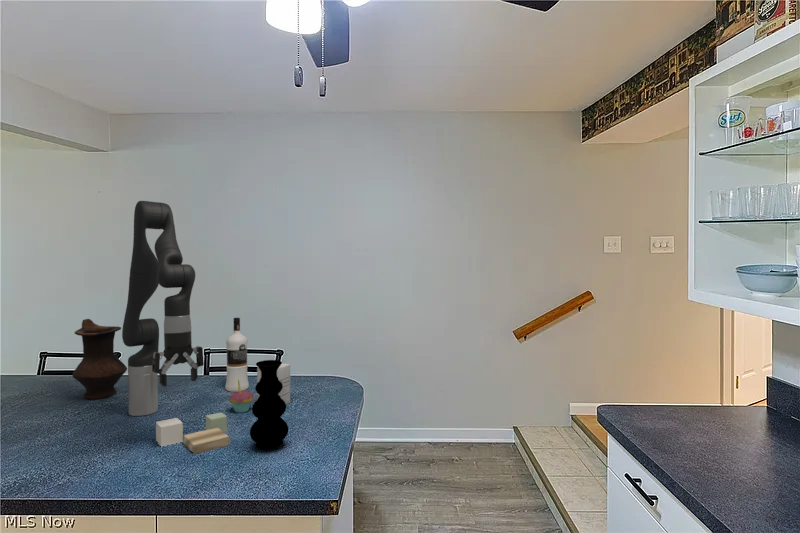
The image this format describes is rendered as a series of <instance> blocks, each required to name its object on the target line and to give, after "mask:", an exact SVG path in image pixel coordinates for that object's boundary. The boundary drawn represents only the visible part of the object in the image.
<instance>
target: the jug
mask: <svg viewBox="0 0 800 533" xmlns="http://www.w3.org/2000/svg"><path fill="white" fill-rule="evenodd" d="M121 330H122V327H121V326H109V325H107V326H106V325H99V324H96V323H95V322H93V320H92V319H90V318H86V319H82V321H81V328H79V329H77V330H75V331H74V335H76V336H80V337H81V340H82V348H83V349H82V352H83V353H82V354H83V357H82V359H81V361H80V362H79V364H78V365H77V367H76V368H75V369H74V371H73V373H72V378H73V379H74V380H76V381H77V382H79V384H81V385H82V386H83V387H84V388H85V392H84V394H83V396H82V397H83V399H84V400H91V399H92V400H100V399H104V398H108V397H111V396H114V395H115V394H116V393H117V389H115V388H116V387H115V386H116V384H117V383H118V382H119V380H120V379H122V377H123V375H124V374H125V373H126V372H128V366H126V365H125V364H124V363H123V361H122V360H120V359H119V358H118V356H116V355H115V352H114V347H115V345H114V343H115V342H114V340H115V336H116V332H119V331H121Z"/></svg>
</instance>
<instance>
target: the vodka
mask: <svg viewBox="0 0 800 533" xmlns="http://www.w3.org/2000/svg"><path fill="white" fill-rule="evenodd" d="M225 344H226V380H225V386H224V387H225V388H224V389H225V390H226V391H227V392H229V393H235V392H237V391H239V389H238V379H239V381H240V390H245V391H247V390H248V388H250V384H249V383H250V382H249V377H248V338H247V336H245V335H243V334H242V333H241V317H233V334H231V335H230V336H228V337H227V338H226V342H225Z"/></svg>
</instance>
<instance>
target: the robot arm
mask: <svg viewBox="0 0 800 533" xmlns="http://www.w3.org/2000/svg"><path fill="white" fill-rule="evenodd" d="M133 214H134V215H133V240H132V241H133V242H132V253H131V262H130V268H129V277H128V278H129V279H128V293H127V295H128V296H127V302H126V303H127V304H126V308H125V314H124V317H123V318H124V319H123V322H122V323H123V324H122V328H121V330H122V332H121V337H122V343H123V344H124V345H125V346H126V347H129V348H132V347H139V346H142V348H141V349H140V350H138V351H137V352H136V353H134V354H131V355H130V356H129V357H128V359H127V374H128V375H127V376H128V377H127V382H128V383H127V386H128V387H127V388H128V389H127V390H128V391H127V392H128V399H127V400H128V415H129V416H133V417H134V416H135V417H141V416H147V415H151V414H155V413H157V412H158V410H159V409H158V408H159V406H158V405H159V404H158V402H159V399H158V397H159V395H158V386H159V385H158V383H159V384H160V386H162V387H163V388H165V387H167V384H168V382H167V378H168V377H167V372H168V370H169V369H170V368H171V367H172V366H173V365H175V366H176V365H179V364H185V363H187V364H188V366H190V380H191V382H196V380H197V379H198V369H199V367H200V368H201V367H203V366H204V364H205V363H204V362H205V360H204V353H203V346H199V345H197V346H195V347H193V346H192V319H191V309H190V308H191V305H190V304H191V296H192V291H193V287H194V284H195V281H196V271H195V269H194V267H193V265H192V264H191V265H190V264H188V263H187V264H185V263H184V264H183V261H184V257H183V255H182V252H181V249H180V247H179V244H178V241H177V240H178V239H177V234H176V227H175V222H174V221H175V220H174V219H175V218H174V215H173V210H172V208H171V206H170V205H169V204H167V203H166V202H165V203H164V202H158V201H148V200H138V201H137V202H136V204H135V207H134V213H133ZM148 229H150V230H163V231H162V232H161V233H160V235H158V237H157V239H156V241H155V243H154V252H153V250H152V248H151V246H150V244H149V243H148V240H147V239H148V238H147V234H146V233H147V232H146V231H147V230H148ZM154 253H155V254H154ZM159 286H160V287H162V288H165V289H174V288H175V289H176V288H177V289H179V288H181V289H180V291H179V292H178V293H176V294H173V295H169V296H167V297H165V299H164V320H163V340H164V341H163V343H164V350H163V351H161V352H160V351H159V348H160V347H159V345H160V344H159V343H160V327H159V324H158V321H157V320H156V319H155V318H140V316H141V313H142V311H143V308H144V307H145V305H146V303H147V302H148V301H149V300H150V298H151V297H152V296H153V295H154V293H155V292H156V290H157V289H158V287H159ZM193 353H194V354H195V356H196V357H195V358H196V362H195V360H194V359H193V358H192V357H191V356H192V355H193ZM162 357H164V358H165V360H164V361H163V363H162V365H161V367H160V361H161V360H162ZM158 374H159V382H158Z"/></svg>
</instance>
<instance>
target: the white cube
mask: <svg viewBox="0 0 800 533" xmlns="http://www.w3.org/2000/svg"><path fill="white" fill-rule="evenodd" d="M183 425H184V424H183V422H182V421H181V420H180V419H179V418H178V417H174V418H169V419H163V420H158V421H155V442H156V441H157V442H158V443H157V442H156V443H157V444H158V445H159V447H160V446H161V447H160V448H163V447H162V446H165V447H168V446H167V445H170V446H172V445H171V444H174V445H177V444H176V443H178V444H181V443H180V442H183V443H184V431H183V429H184V426H183Z"/></svg>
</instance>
